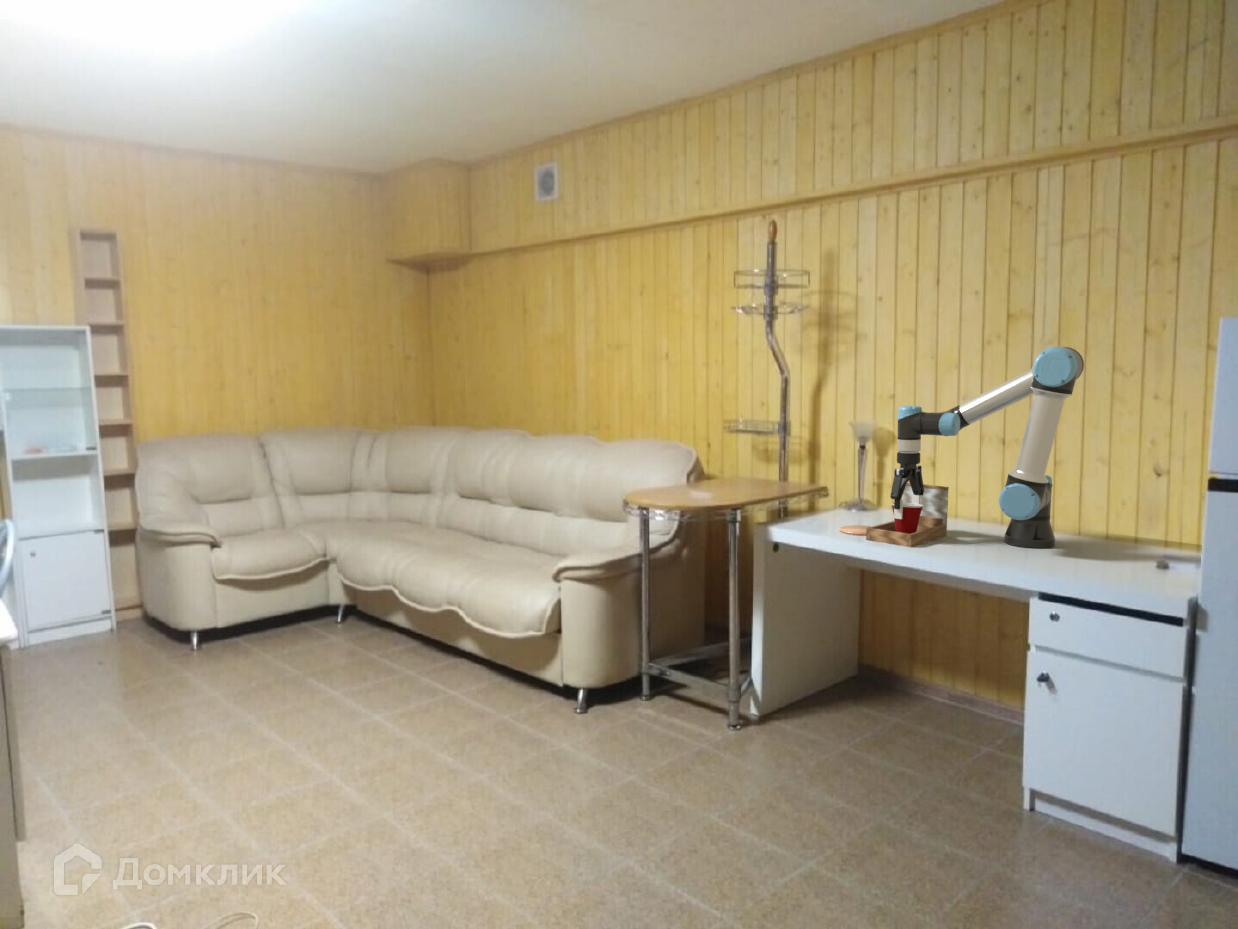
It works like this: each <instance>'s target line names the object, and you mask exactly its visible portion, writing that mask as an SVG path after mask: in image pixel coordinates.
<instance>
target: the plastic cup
mask: <svg viewBox="0 0 1238 929" xmlns="http://www.w3.org/2000/svg"><path fill="white" fill-rule="evenodd" d="M890 505H891V508H892V513H893V515H894V502H890ZM923 507H924V505H920V504H913V503H903V516H902V519H896V518H894V517H893V518H894V520H893V521H895V528H896V532H900V533H907V534H911V533H915V532H916V531H917V527H918V523H919V518H920V514H921V511H922V508H923Z"/></svg>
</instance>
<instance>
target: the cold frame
mask: <svg viewBox="0 0 1238 929" xmlns="http://www.w3.org/2000/svg"><path fill="white" fill-rule="evenodd" d="M923 486H924V494H923V495H920V505H924V507H923V508H922V511H921V514H920V518H919V523H918V527H917V531H916V532H915V533H911V534H907V533H900V532H896V528H895V521H894V520H892V521H888V522H885V523H880V524H877V525H873V526H871V527H869V528H866V536H865V540H866V541H872V542H877V543H883V544H890V545H897V546H903V547H909V548H912V546H913V547H915V546H919V545H922V544H925V542H926V543H928V541H929V542H931V540H932V541H935V540H938V539H942V538H945V537H947V536H948V533H947V532H948V513H949V512H948V508H949V507H948V506H949V486H942V485H931V484H924V483H923ZM920 489H921V488H920ZM912 495H915V494H913V491H912V488H911V485H910V482H907V484H906V486H905V489H904V492H903V495H902V500H903V503H912Z"/></svg>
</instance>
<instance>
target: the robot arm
mask: <svg viewBox="0 0 1238 929" xmlns="http://www.w3.org/2000/svg"><path fill="white" fill-rule="evenodd" d="M1084 367H1085V362H1084V357H1083V356H1082V354H1080V352H1079V351H1078V350H1076V349H1075V348H1072V347H1068V346H1052V347H1049V348H1046V349H1044V350H1043V351H1042V352H1040V353H1039V354H1038V356H1037V357H1036V358H1035V360H1034V361H1033V364H1032V367H1031V369H1028V370H1027V371H1025V372H1023V373H1021V374H1019V375H1017V376H1015V377H1013V378H1011V379H1009V380H1006V381H1004V382H1003V383H1001V384H998V385H997V386H994V387H992V388H990V389H989V390H987V391H985V392H983V393H980V394H978V395H977V396H975V397H973V398H970V399H967V401H964V402H963V403H961V404H959V405H956V406H954V407H952V408H950V409H949V410H945V411H941V412H926V411H923V410H922V409H923V407H922V406H920V405H901V406H900V407H899V408H898V412H897V441H896V444H897V445H896V449H897V450H896V451H897V453H896V463H897V464H899V466H900V467H899V468H894V470H893V471H894V472H893V473H894V475H893V476H894V477H893V480H892V487H891V491H890V499H892V500H893V501H894V502H893V503H894V514H893V518H896V519H902V516H903V492H904V489H905V486H906V484H907V483H910V485H911V488H912V491H913V494H915V495H912V503H913V504H920V495H923V494H924V486H923V484H924V481H923V474H922V468H923V467H922V465H919V464H920V463H921V453H920V451H921V448H922V447H921V446H922V445H921V444H922V443H921V441H922V436H940V437H941V436H944V437H956V436H957V435H958V434H959V431H961V430H962V429H964V428H967V427H968V426H970V425H972V424H975V423H976V422H979V421H980V420H982V419H984V418H986V417H988V416H991V415H993V414H995V413H997V412H999V411H1001V410H1003V409H1005V408H1008V407H1009V406H1012V405H1014V404H1015V403H1016V404H1017V403H1018V402H1021V401H1023V400H1024V399H1027V398H1029V397H1030V396H1033V398H1032V402H1031V407H1030V410H1029V414H1028V417H1027V422H1026V426H1025V429H1024V433H1023V437H1022V441H1021V445H1020V449H1019V451H1018V452H1019V453H1018V457H1017V460H1016V464H1015V467H1014V468H1013V469H1012V470H1010V471H1009V472H1008V474H1007V478H1006V481H1005V485H1004V488H1003V489H1002V490H1001V491H1000V494H999V498H998V505H999V507H1000V510H1001V511H1002V512H1003V514H1004V515H1005V516H1007V517H1009V518H1010V519H1009V523H1008V526H1007V528H1006V531H1005V533H1004V538H1003V541H1004V543H1005V544H1007V545H1010V546H1015V547H1021V548H1029V549H1031V548H1032V549H1034V548H1035V549H1046V548H1047V549H1048V548H1052V547H1055V546H1056V537H1055V534H1054V531H1053V530H1054V529H1053V527H1052V524H1051V510H1052V495H1053V494H1052V491H1053V490H1052V489H1053V478H1052V476H1050V475H1048V474H1047V475H1046V471H1047V468H1048V464H1049V461H1050V456H1051V453H1052V449H1053V445H1054V442H1055V438H1056V434H1057V431H1058V427H1059V422H1060V419H1061V415H1062V411H1063V408H1064V403H1065V400H1066V399H1067V398H1069V397H1071V396H1072V395H1073V391H1074V388H1075V385H1076V381H1077V380H1078V379H1079V378H1080V377H1081V375H1082V373H1083V371H1084V369H1085V368H1084ZM920 488H921V489H920Z"/></svg>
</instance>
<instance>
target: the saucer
mask: <svg viewBox="0 0 1238 929" xmlns="http://www.w3.org/2000/svg"><path fill="white" fill-rule="evenodd" d="M869 527H872V526H871V525H870V526H869V525H862V524H861V525H860V524H859V525H858V524H857V525H856V524H855V525H854V524H853V525H843V526H841V527H840V528H839V532H841V533H842V534H845V535H850V534H852V535H851V536H865V537H866V528H869Z"/></svg>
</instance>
